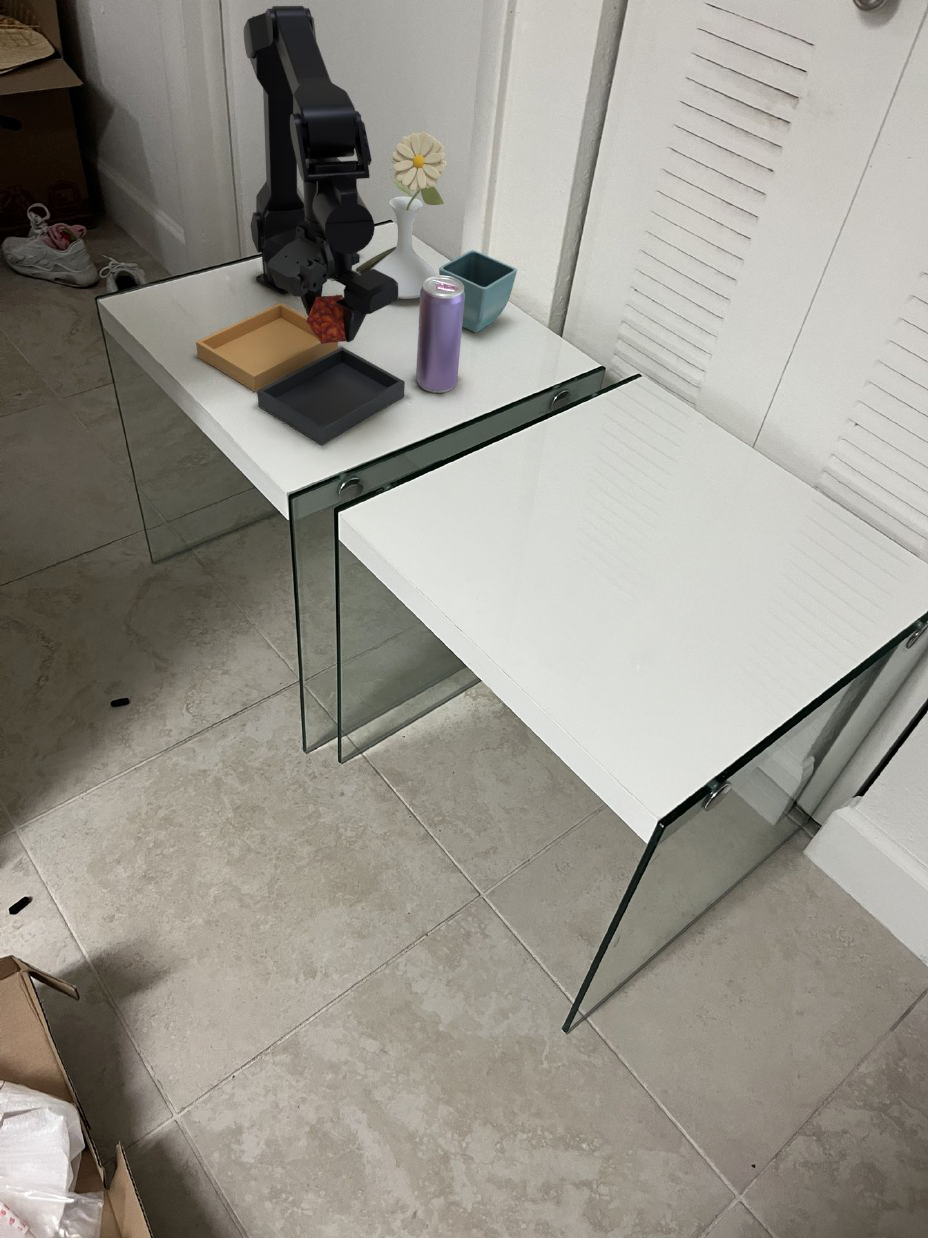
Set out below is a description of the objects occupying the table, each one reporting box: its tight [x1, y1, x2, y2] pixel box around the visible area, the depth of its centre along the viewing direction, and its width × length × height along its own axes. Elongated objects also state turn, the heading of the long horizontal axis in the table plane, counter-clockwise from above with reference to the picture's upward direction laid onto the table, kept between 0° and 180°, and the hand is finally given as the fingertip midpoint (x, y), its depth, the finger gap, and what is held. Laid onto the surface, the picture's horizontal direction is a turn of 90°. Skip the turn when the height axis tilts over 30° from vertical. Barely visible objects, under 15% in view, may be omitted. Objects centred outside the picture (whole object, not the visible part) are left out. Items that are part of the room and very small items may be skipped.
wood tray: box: [195, 302, 339, 393], centre depth 137 cm, size 12×16×2 cm
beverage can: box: [415, 274, 465, 394], centre depth 131 cm, size 6×6×15 cm
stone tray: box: [256, 346, 406, 446], centre depth 130 cm, size 12×16×2 cm
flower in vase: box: [369, 130, 447, 300], centre depth 144 cm, size 13×11×25 cm
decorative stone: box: [306, 294, 347, 344], centre depth 124 cm, size 6×7×8 cm
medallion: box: [355, 245, 397, 273], centre depth 154 cm, size 8×8×1 cm
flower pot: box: [438, 249, 518, 333], centre depth 145 cm, size 9×9×9 cm
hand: (331, 330), depth 125 cm, fingers closed on decorative stone, 6 cm apart
